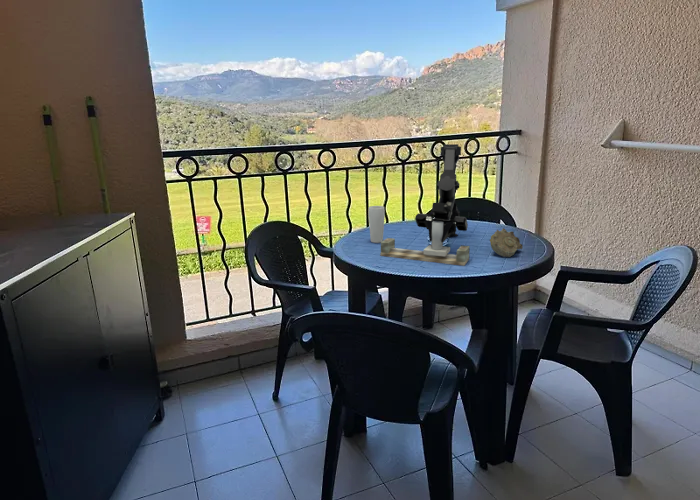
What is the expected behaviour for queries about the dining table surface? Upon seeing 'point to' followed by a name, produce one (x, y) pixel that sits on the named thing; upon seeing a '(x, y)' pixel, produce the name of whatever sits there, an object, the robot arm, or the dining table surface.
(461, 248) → the wooden slide rail
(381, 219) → the drinking glass
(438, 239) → the carriage
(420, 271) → the dining table surface
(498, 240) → the seashell
